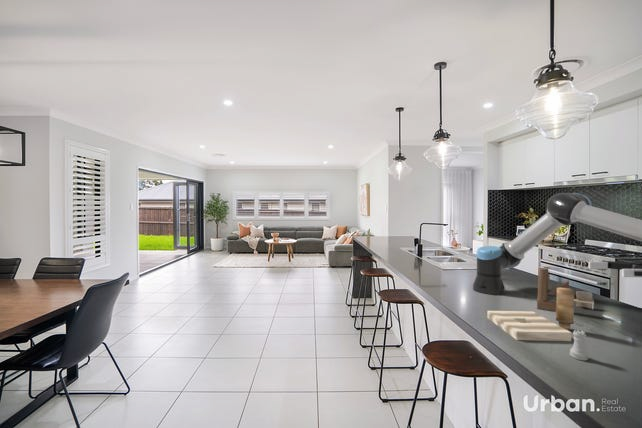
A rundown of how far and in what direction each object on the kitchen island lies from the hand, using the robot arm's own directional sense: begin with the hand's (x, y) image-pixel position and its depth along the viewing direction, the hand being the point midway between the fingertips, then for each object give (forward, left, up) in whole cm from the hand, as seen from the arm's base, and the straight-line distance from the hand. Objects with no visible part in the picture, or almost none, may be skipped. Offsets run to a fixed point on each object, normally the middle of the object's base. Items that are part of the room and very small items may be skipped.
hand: (604, 268), depth 109 cm
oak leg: (-1, -13, -23) cm, 26 cm away
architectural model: (-26, +14, -24) cm, 38 cm away
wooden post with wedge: (-22, -3, -23) cm, 32 cm away
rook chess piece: (+20, -24, -23) cm, 39 cm away
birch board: (-1, -27, -23) cm, 35 cm away
